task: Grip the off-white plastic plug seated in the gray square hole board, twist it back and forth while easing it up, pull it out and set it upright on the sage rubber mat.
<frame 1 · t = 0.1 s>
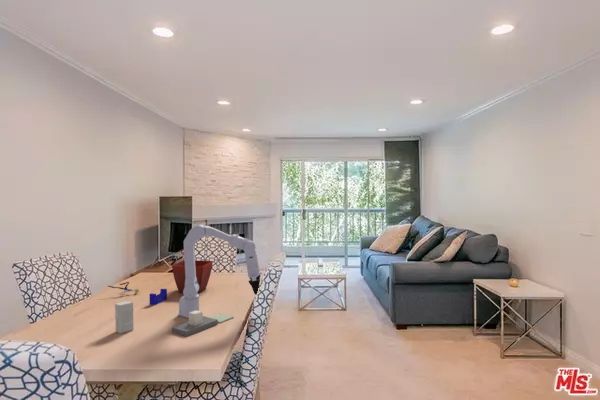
hand: (257, 292, 191), 11 cm above the table, tool pointing down, fingers open, 7 cm apart
skincare box: (124, 331, 167), on the table
plant pot: (193, 290, 236), on the table
mat: (219, 318, 183), on the table
plug: (195, 328, 170), resting in gray square hole board
cable clip: (157, 302, 211), on the table
gray square hole board: (195, 327, 170), on the table
figurine: (125, 296, 225), on the table
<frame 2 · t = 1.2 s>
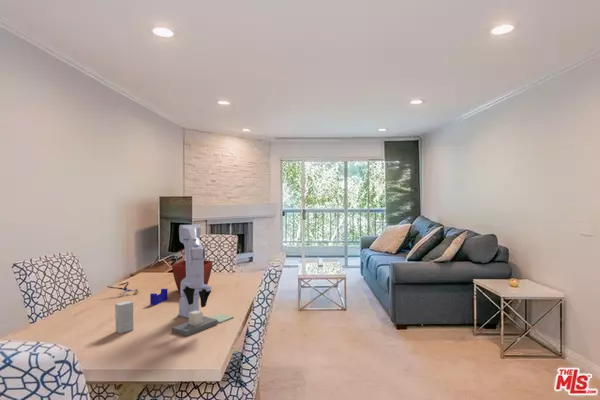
hand: (197, 305, 170), 10 cm above the table, tool pointing down, fingers open, 7 cm apart
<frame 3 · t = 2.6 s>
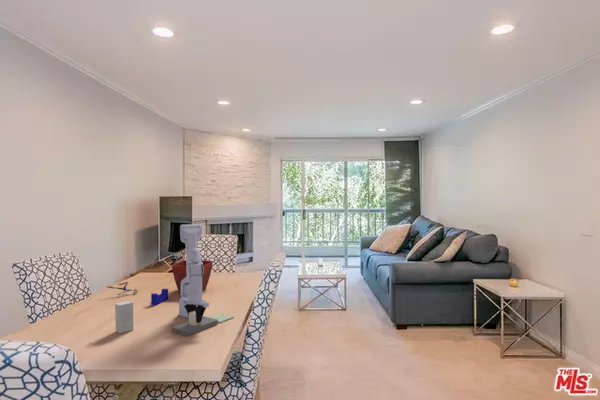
hand: (195, 321, 170), 3 cm above the table, tool pointing down, fingers closed on plug, 4 cm apart
plug: (195, 328, 170), resting in gray square hole board, touching gripper
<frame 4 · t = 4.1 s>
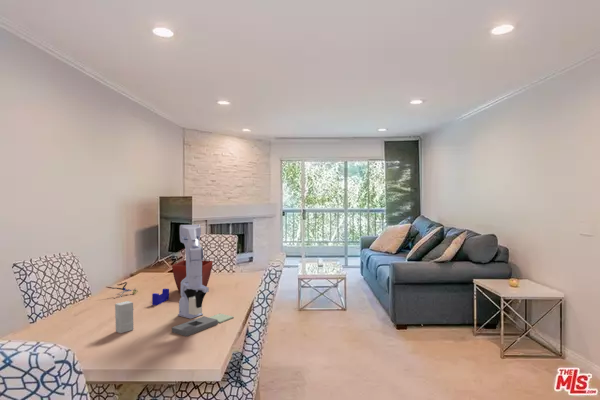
hand: (195, 306, 170), 9 cm above the table, tool pointing down, fingers closed on plug, 4 cm apart
plug: (195, 313, 170), point 6 cm above the table, touching gripper
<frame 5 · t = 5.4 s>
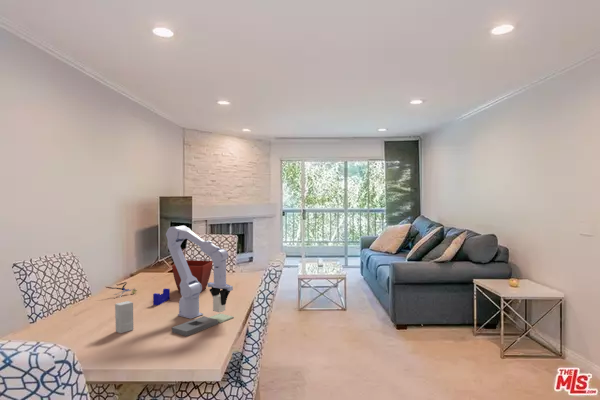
hand: (220, 304, 183), 7 cm above the table, tool pointing down, fingers closed on plug, 4 cm apart
plug: (219, 310, 182), point 4 cm above the table, touching gripper
when the fingers open (5 cm above the table, at t = 6.0 s): plug drops 2 cm, resting on mat.
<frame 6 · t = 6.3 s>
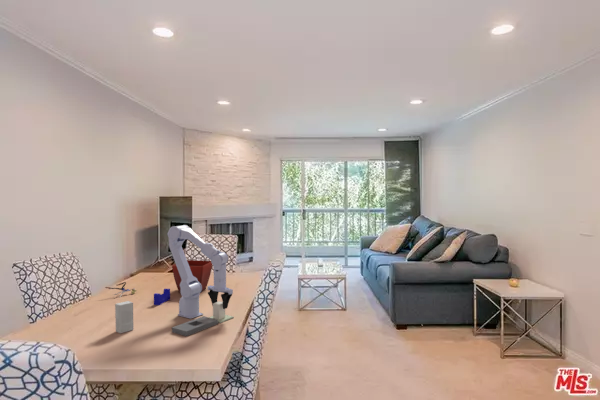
hand: (219, 307, 183), 5 cm above the table, tool pointing down, fingers open, 6 cm apart
plug: (219, 317, 183), point 1 cm above the table, touching mat
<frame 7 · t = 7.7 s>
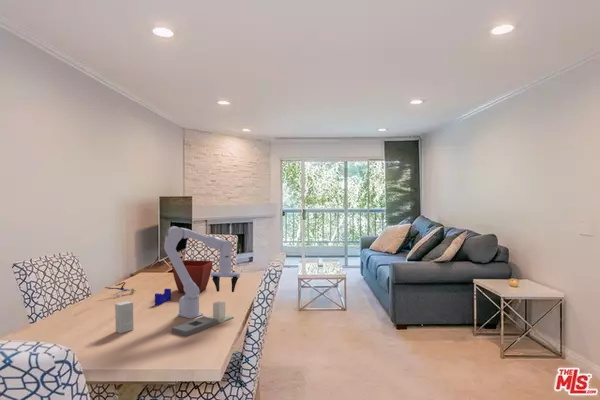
hand: (225, 291, 194), 10 cm above the table, tool pointing down, fingers open, 7 cm apart
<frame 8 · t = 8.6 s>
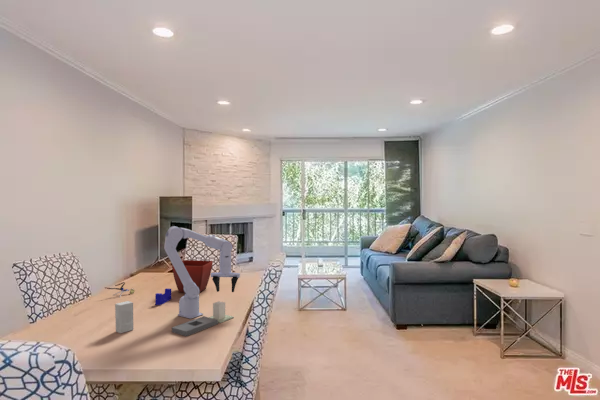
hand: (225, 291, 194), 10 cm above the table, tool pointing down, fingers open, 7 cm apart
at the end: plug 0.5 cm off-centre on the mat, point 0.6 cm above the mat's base; plug tilted 0°; the gripper is holding nothing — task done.
